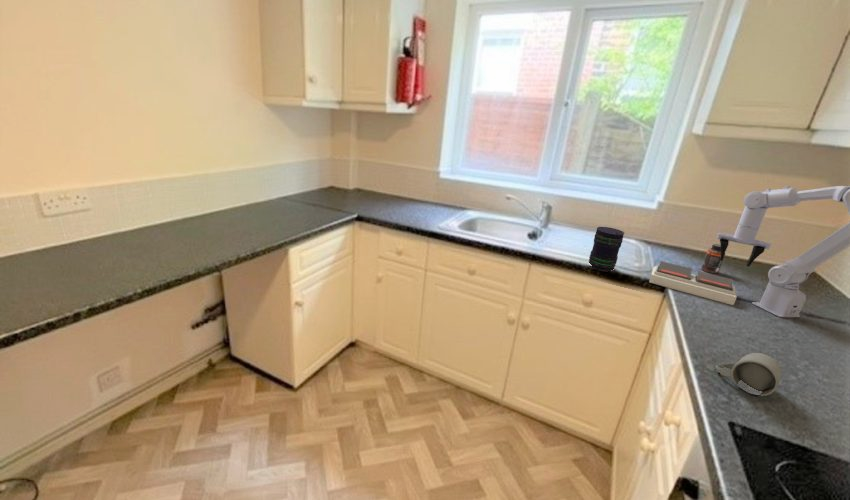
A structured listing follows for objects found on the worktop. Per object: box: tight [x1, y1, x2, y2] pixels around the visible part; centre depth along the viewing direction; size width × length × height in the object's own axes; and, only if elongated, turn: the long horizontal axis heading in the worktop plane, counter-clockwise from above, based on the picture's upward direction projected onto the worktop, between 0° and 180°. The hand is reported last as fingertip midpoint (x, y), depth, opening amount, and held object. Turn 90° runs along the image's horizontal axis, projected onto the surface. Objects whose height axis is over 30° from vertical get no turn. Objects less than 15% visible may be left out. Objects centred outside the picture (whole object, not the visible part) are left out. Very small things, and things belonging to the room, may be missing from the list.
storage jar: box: [588, 226, 625, 272], centre depth 148 cm, size 10×10×15 cm
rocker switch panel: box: [648, 264, 737, 306], centre depth 137 cm, size 25×12×4 cm, turn 55°
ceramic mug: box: [715, 352, 782, 397], centre depth 85 cm, size 11×8×8 cm
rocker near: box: [696, 271, 734, 291], centre depth 133 cm, size 10×7×1 cm
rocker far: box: [657, 260, 693, 280], centre depth 139 cm, size 10×7×1 cm
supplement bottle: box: [701, 243, 726, 275], centre depth 155 cm, size 6×6×11 cm
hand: (734, 262), depth 136 cm, fingers open, 7 cm apart
